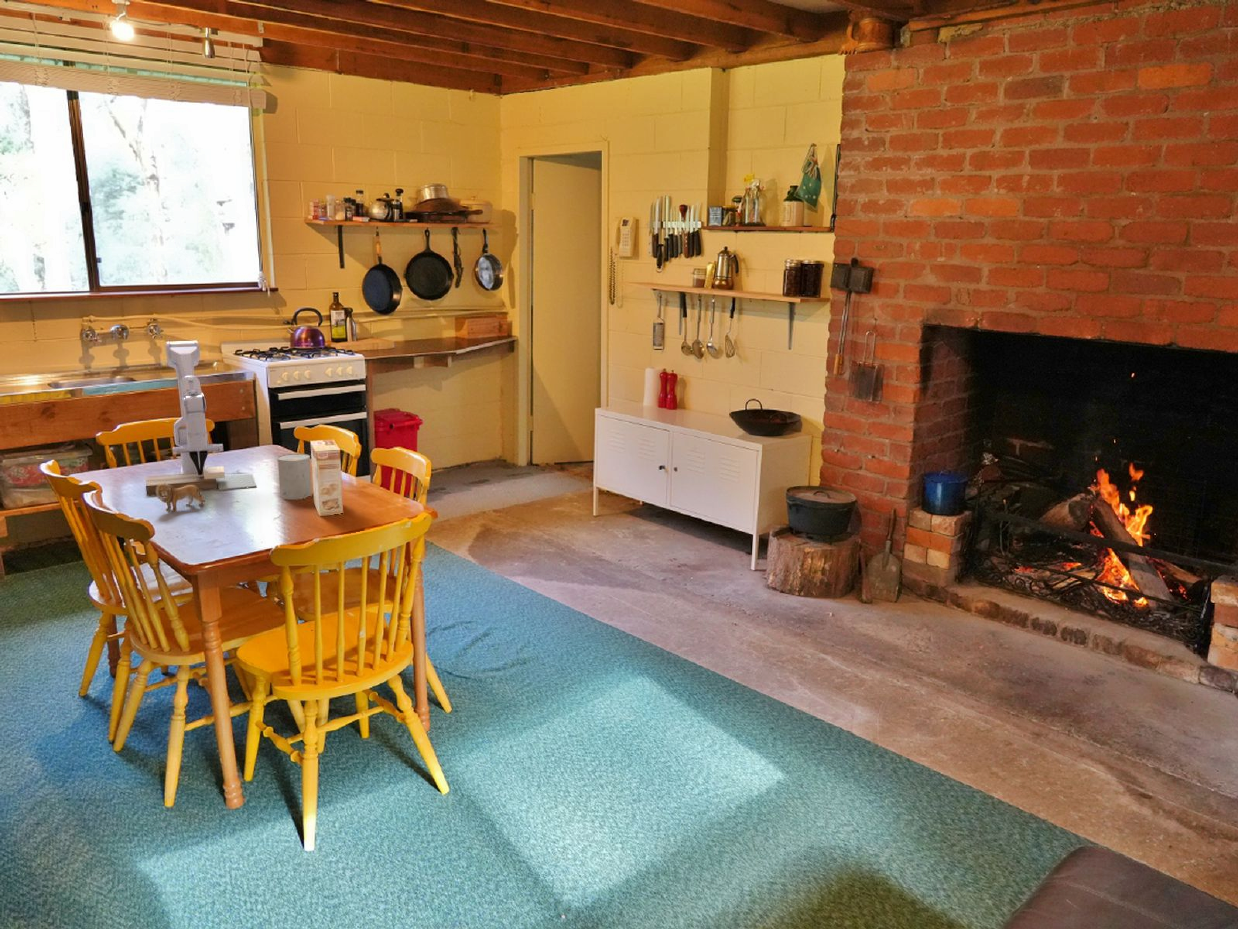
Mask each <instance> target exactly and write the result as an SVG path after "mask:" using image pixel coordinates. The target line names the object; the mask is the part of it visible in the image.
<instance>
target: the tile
mask: <svg viewBox="0 0 1238 929" xmlns="http://www.w3.org/2000/svg"><path fill="white" fill-rule="evenodd" d="M203 472H204V479H216V480H217V478H225V476H226V475H225V474H226V473H225V472H226V471H225V467H224V466H223V465H222V466H219V465H218V466H206V467H203Z"/></svg>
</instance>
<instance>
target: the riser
mask: <svg viewBox="0 0 1238 929" xmlns="http://www.w3.org/2000/svg"><path fill="white" fill-rule="evenodd" d="M145 479H146V480H145V488H146V489H145V490H146V496H155V495H156V496H157V494H156V492H155V490H156V487H157V485H158V484H160V483H166V484H168V485H172V486H174V487H176V488H181V487H184V486H187V485H195V486H197V487H198V488H199V490H202V491H211V490H212V489H213V490H218V482H217V479H204V472H203V475H198V473H186V474H181V473H176V474H175V473H174V474H165V475H164V474H163V475H151V476H146V478H145Z"/></svg>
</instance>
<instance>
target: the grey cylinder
mask: <svg viewBox="0 0 1238 929" xmlns="http://www.w3.org/2000/svg"><path fill="white" fill-rule="evenodd" d="M277 468H278V482H279V497H280V498H281V499H283V500H288V501H290V500H291V501H293V500H303V498H304V499H307V498H306V497H308V496H310V497H312V496H313V493H312V492H313V486H312V475H311V474H312V471H311V470H312V469H311V455H309V454H307V453H287V454H282V455H279V456H277ZM308 498H309V497H308Z"/></svg>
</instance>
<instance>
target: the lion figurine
mask: <svg viewBox="0 0 1238 929" xmlns="http://www.w3.org/2000/svg"><path fill="white" fill-rule="evenodd" d="M155 492H156V494H157V495H156V496H157V499H159V500H160V501H161V502H162V503H166V505H167V508H165V511H166V510H167V512H169V511H171V513H176V512H177V511H178V509H177V502H178V501H181V500H185V499H186V498H187V499H189V501H188V503H186V504H185V506H187V507H189V506H191V505H192V504H193V502H194V500H197V501H198V502H200V503H199V504H198V506H199V507H203V506H204V504H205V502H206V501H205V500H204V499H203V494H202V492H201V491H200V490H199V488H198V487H197V486H195V485H187V486H184V487H181V488H176V487H174V486H172V485H168V484H166V483H160V484H158V485H157V487H156V490H155ZM168 510H169V511H168ZM175 511H176V512H175Z"/></svg>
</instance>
